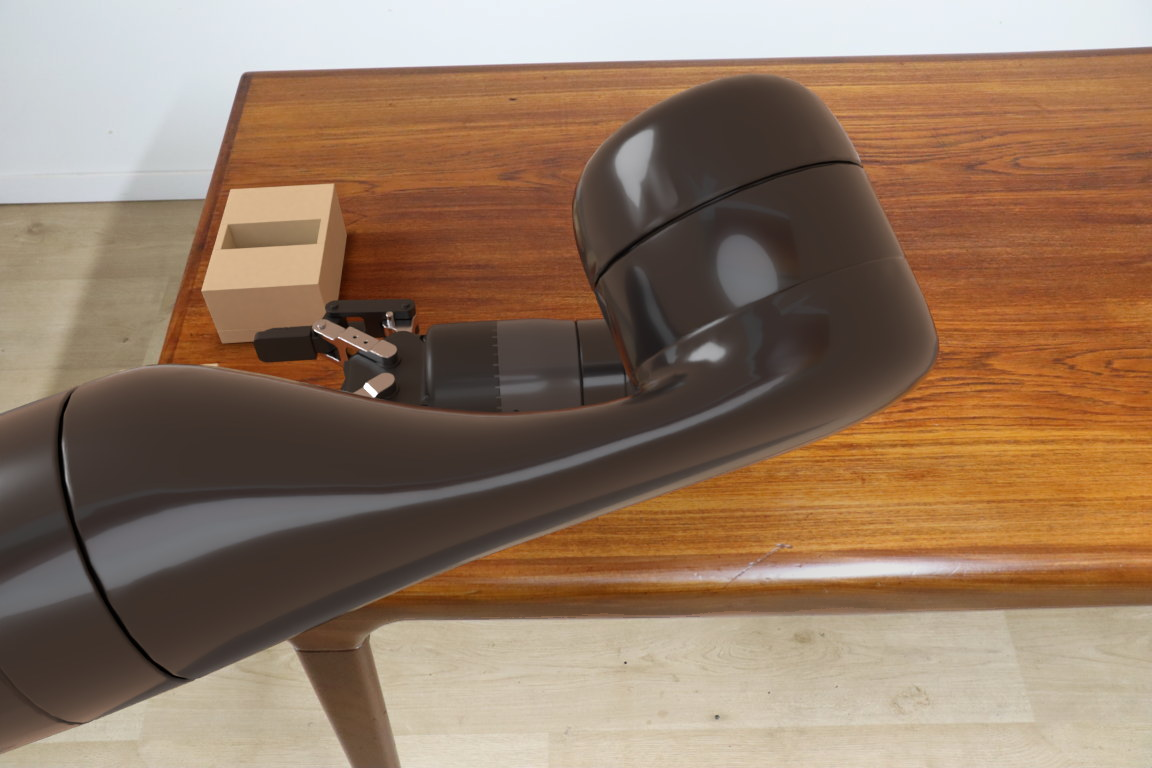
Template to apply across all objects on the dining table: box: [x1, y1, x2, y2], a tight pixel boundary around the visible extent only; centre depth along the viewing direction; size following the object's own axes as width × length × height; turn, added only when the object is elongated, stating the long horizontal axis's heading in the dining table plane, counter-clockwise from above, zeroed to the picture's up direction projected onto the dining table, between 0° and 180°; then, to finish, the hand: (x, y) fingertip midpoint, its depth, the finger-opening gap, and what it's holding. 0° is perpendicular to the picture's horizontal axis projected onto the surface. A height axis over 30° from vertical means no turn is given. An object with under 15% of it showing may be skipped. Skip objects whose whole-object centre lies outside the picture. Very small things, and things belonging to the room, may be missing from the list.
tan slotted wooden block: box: [201, 183, 348, 344], centre depth 84 cm, size 15×9×6 cm, turn 5°
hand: (245, 395), depth 59 cm, fingers open, 8 cm apart
